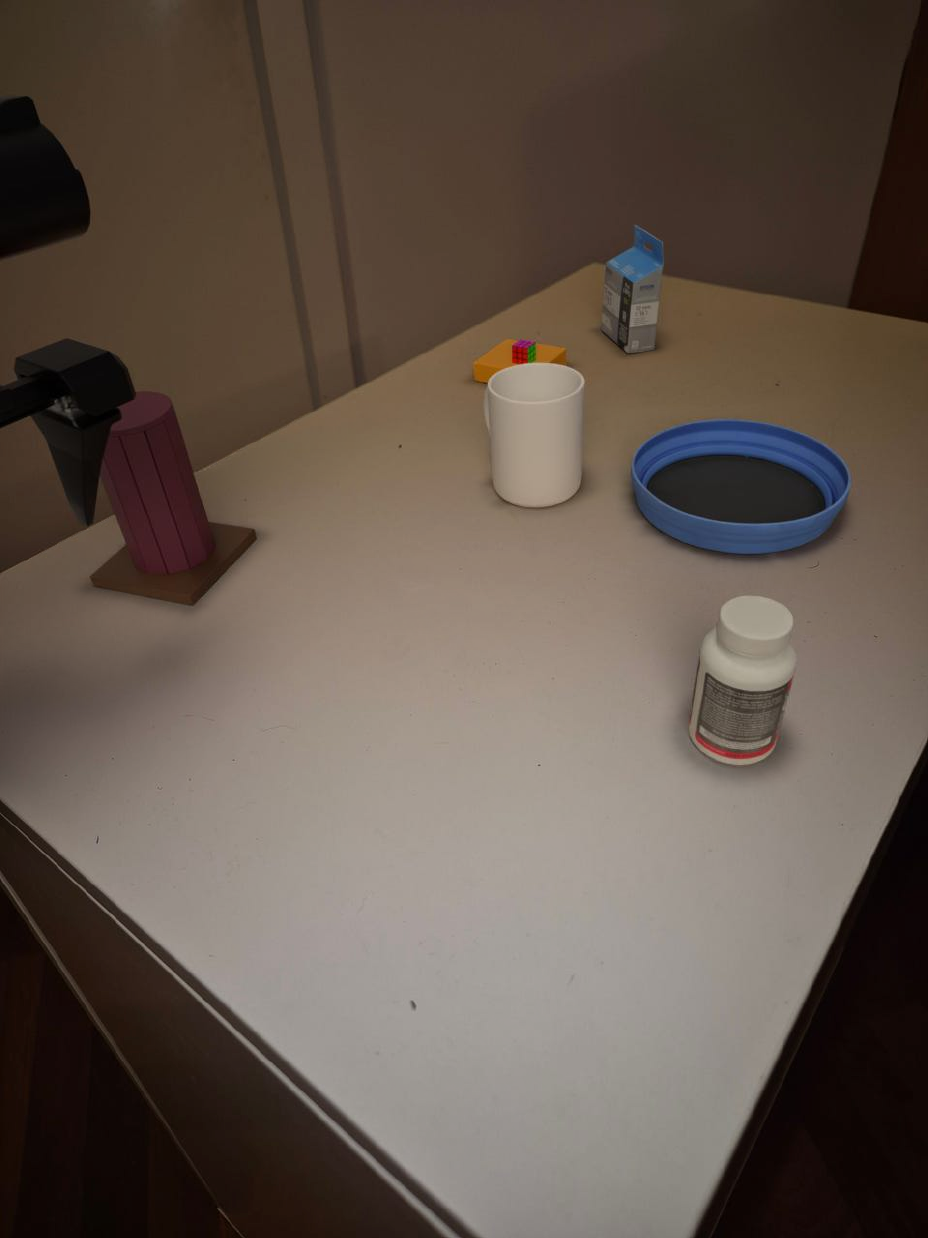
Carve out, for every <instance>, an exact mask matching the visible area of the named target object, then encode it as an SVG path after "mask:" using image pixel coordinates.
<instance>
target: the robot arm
mask: <svg viewBox="0 0 928 1238" xmlns="http://www.w3.org/2000/svg"><path fill="white" fill-rule="evenodd" d="M90 204H91V203H90V198H89V194H88V190H87V185H86V183H85V180H84V178H83V174H82V172H81V171H80V170H79V169H78V168H75V166H74V163H73V161H72V159H71V158H70V156H69V154H68V152H67V150H66V149H65V147H64V146H63V144H62V143H61V142H60V141H59V139H58V138H57V136H56V135H55V134H54V133H53V132H52V131H51V130H50V129H49V128H48V127H47V126H46V125H44V124H43V123H42V122H41V120H40V116H39V114H38V111H37V108H36V104H35V102H34V100H33V98H31V97H30V96H28V95H15V94H13V95H12V94H6V95H0V262H1V261H5V260H9V259H12V258H14V257H19V256H21V255H24V254H28V253H31V252H35V251H37V250H40V249H45V248H47V247H52V246H55V245H58V244H61V243H64V242H67V241H71V240H75V239H77V238H81V237H84V235H85V234H86V233H88V230H89V228H90V224H91V205H90ZM13 372H14V374H15V377H16V378H17V380H15V381H14V380H13V381H11V382H9V383H7V384H4V385H2V384H0V429H2V428H5V427H7V426H9V425H11V424H14V423H17V422H19V421H21V420H23V419H26V418H28V417H30V418H31V419H32V421H33V422H34V424H35V425H36V427H37V428H38V430H39V431H40V433H41V434H42V436H43V438H44V439H45V441H46V443H47V446H48V450H49V452H50V455H51V458H52V460H53V463H54V466H55V468H56V472H57V475H58V477H59V481H60V483H61V485H62V489H63V491H64V494H65V497H66V500H67V502H68V505H69V506H70V508H71V510H72V512H73V514H74V515H75V518H76V519H77V522H79V524H81V525H83V526H85V527H90V526H92V525H93V524H94V520H95V519H94V518H95V511H96V504H97V499H98V490H99V483H100V470H101V465H102V461H103V457H104V453H105V449H106V445H107V441H108V437H109V433H110V429H111V426H112V425H113V424H114V423H116V422H118V421H120V420H121V418H122V414H121V411H120V409H119V408H117V407H119V406H121V405H123V404H125V403H128V402H130V401H132V400H134V398H135V396H136V392H137V391H136V390H135V389H136V388H135V386H134V383H133V379H132V377H131V374H130V370H129V369H128V367H127V365H126V364H125V362H123V361H122V359H121V358H120V357H119V356H118V355H116V354H115V353H113V352H111V351H109V350H106V349H103V348H100V347H96V346H93V345H91V344H87V343H84V342H82V341H81V342H80V341H78V340H74V339H71V338H68V337H65V338H64V339H60V340H58V341H55V342H52V343H50V344H47V345H45V346H43V347H39V348H37V349H34V350H32V351H29V352H27V353H24V354H21V355H19V356H16V357H15V360H14V366H13Z"/></svg>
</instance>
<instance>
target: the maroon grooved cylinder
mask: <svg viewBox="0 0 928 1238" xmlns="http://www.w3.org/2000/svg"><path fill="white" fill-rule="evenodd" d="M135 392H136V396H135V398H134V400H132V401H130V402H128V403H125V404H123V405H121V406H119V407H117V408H119V409H120V411H121V414H122V418H121V420H120V421H118V422H116V423H114V424H113V425H112V426H111V429H110V433H109V437H108V441H107V445H106V449H105V453H104V457H103V461H102V465H101V470H100V477H99V479H100V480H101V483H102V486H103V489H104V491H105V493H106V495H107V499H108V501H109V504H110V506H111V510H112V512H113V515H114V516H115V519H116V522H117V525H118V528H119V530H120V532H121V534H122V538H123V540H124V542H125V543H124V544H125V545H127V548H128V550H129V553H130V556H131V558H132V561H133V563H134V566H135V567H136V568H137V569H139V570H141V571H143V572H145V573H147V574H148V573H149V574H156V575H168V574H169V575H170V574H174V573H177V572H181V571H185V570H189V569H190V568H193V567H195V566H196V565H198V564H200V563H201V562H203V561H204V560H206V559H207V558H208V557H209V556H210V554H211V553H212V551H213V550H214V548H215V546H216V545H215V541H214V538H213V535H212V531H211V528H210V525H209V522H210V521H209V518H208V515H207V512H206V509H205V505H204V502H203V500H202V496H201V492H200V489H199V486H198V482H197V479H196V476H195V473H194V470H193V466H192V463H191V459H190V456H189V453H188V450H187V447H186V443H185V440H184V437H183V436H184V435H183V433H182V429H181V426H180V424H179V419H178V417H177V413H176V410H175V408H174V404H173V401H172V399H171V398H170V397H169V396H168V395H167V394H164V393H162V392H157V391H149V390H145V391H144V390H142V391H141V390H140V391H135Z"/></svg>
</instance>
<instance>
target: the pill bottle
mask: <svg viewBox="0 0 928 1238" xmlns="http://www.w3.org/2000/svg"><path fill="white" fill-rule="evenodd" d="M793 630H794V617H793V615H792V613H791V612H790V610H789V609H788V608H787V607H786V606H785V605H784V604H782V603H781V602H778V601H777V600H774V599H772V598H769V597H767V596H760V595H751V594H750V595H740V596H735V597H734V598H732V599H731V598H730V599H728V600H727V601H726V602H725V603H724V604H723V605H722V606H721V608H720V609H719V612H718V618H717V622H716V625H715V627H713V629H711V630H710V631H709V632H708V633H707V634H706V635H705V637H704V638H703V639H702V641H701V644H700V648H699V653H698V660H697V666H696V672H695V679H694V686H693V692H692V698H691V706H690V711H689V712H690V713H689V721H688V732H689V737H690V738H691V740H692V742H693V744H694V745H695V747H697V748H698V750H699V751H701V752H702V753H703V754H704V755H706V756H707V757H709V758H711V759H713V760H715V761H717V762H719V763H722V764H723V763H724V764H727V765H733V766H747V765H752V764H756V763H758V762H760V761H762V760H765V759H766V758H768V756H770V755H771V754H772V752H773V751H774V749H775V747H776V744H777V741H778V737H779V734H780V730H781V727H782V722H783V719H784V715H785V712H786V708H787V707H786V706H787V703H788V699H789V696H790V691H791V689H792V684H793V681H794V677H795V672H796V669H797V662H798V661H797V653H796V650H795V648H794V646H793V645H792V643H791V640H792V633H793Z"/></svg>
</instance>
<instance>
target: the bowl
mask: <svg viewBox="0 0 928 1238" xmlns="http://www.w3.org/2000/svg"><path fill="white" fill-rule="evenodd" d="M630 478H631V484H632V487H633V490H634V493H635V498H636V503H637V505H638V508H639V510H640V512H641V513H642V514H643V516H644V517H645V518H646V519H647V520H648V521H649V522H650V523H651V525H653V526H654V527H655V528H656V529H658V530H659V531H661V533H664V534H665V535H667V536H669V537H672V538H673V539H676V540H677V541H680V542H681V543H685V544H687V545H691V546H693V547H696V548H701V549H705V550H709V551H713V552H720V553H725V554H736V555H762V554H765V555H766V554H771V553H773V554H774V553H779V552H783V551H789V550H792V549H796V548H799V547H801V546H804V545H807V544H808V543H811V542H812V541H814V540H816V539H817V538H818V537H820V536H822V535H823V534H824V533H825V532H826V531H827V530H828V529H829V528H830V527H831V525H832V524H833V522H834V520H835V518H836V516H837V515H838V514H839V513H840V511H841V510H842V508H843V506H844V505H845V504H846V502H847V500H848V497H849V494H850V490H851V484H852V475H851V472H850V469H849V467H848V465H847V463H846V462H845V460H844V459H843V458H842V457H841V456H840V455H839V454H838V453H837V452H836V451H835V450H833V449H832V448H831V447H830V446H828V445H827V444H825V443H824V442H821V441H820V440H819V439H817V438H815V437H813V436H810V435H808V434H806V433H803V432H800V431H798V430H795V429H792V428H789V427H786V426H783V425H778V424H774V423H769V422H764V421H757V420H751V419H750V420H749V419H739V418H738V419H737V418H717V419H716V418H715V419H705V420H703V419H702V420H696V421H691V422H686V423H682V424H678V425H674V426H672V427H669V428H666V429H663V430H662V431H659V432H657V433H656V434H654V435H652V436H650V437H649V438H647V439H646V440H645V441H644V442H642V443H641V444H640V445H639V446H638V448H637V449H636V450H635V452H634V454H633V455H632V460H631V467H630Z"/></svg>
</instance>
